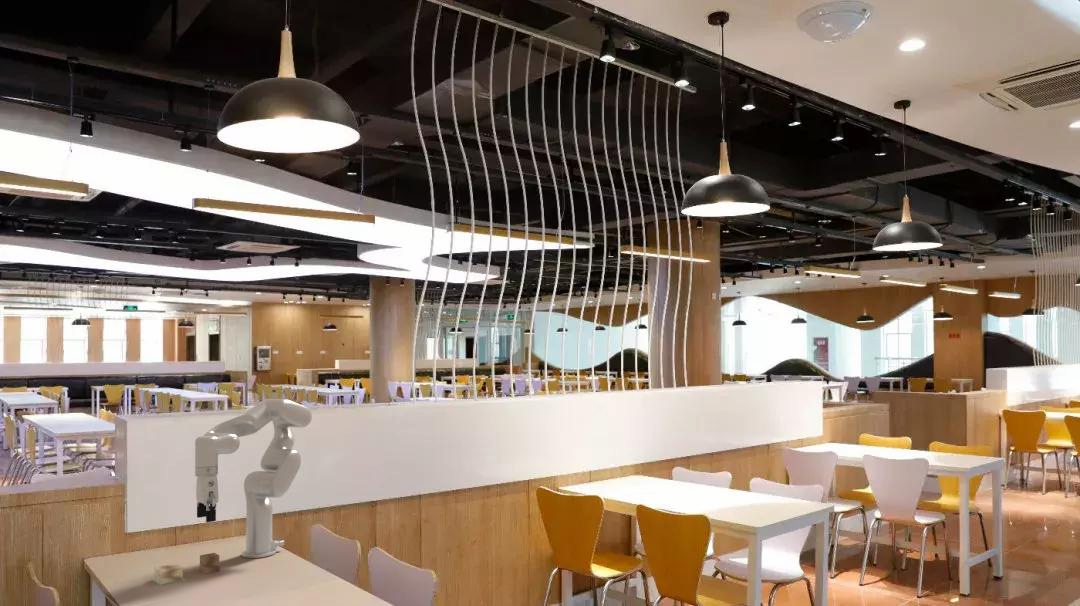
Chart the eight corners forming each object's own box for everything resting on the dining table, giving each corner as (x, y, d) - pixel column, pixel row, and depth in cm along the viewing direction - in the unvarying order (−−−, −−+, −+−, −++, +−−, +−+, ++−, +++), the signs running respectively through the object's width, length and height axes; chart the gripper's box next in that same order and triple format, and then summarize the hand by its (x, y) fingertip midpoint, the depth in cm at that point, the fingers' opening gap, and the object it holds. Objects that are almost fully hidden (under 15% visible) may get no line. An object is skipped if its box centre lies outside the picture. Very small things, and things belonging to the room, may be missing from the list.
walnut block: (214, 569, 279) (214, 552, 280) (219, 572, 276) (219, 555, 276) (199, 572, 276) (199, 555, 276) (204, 575, 272) (204, 558, 273)
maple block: (176, 575, 271) (176, 563, 271) (182, 579, 265) (183, 567, 266) (154, 579, 266) (154, 567, 266) (161, 583, 261) (161, 571, 261)
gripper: (225, 472, 273) (225, 521, 273) (209, 466, 286) (208, 513, 286) (203, 475, 268) (203, 525, 268) (187, 469, 281) (187, 517, 281)
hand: (206, 519), depth 277 cm, fingers open, 9 cm apart
